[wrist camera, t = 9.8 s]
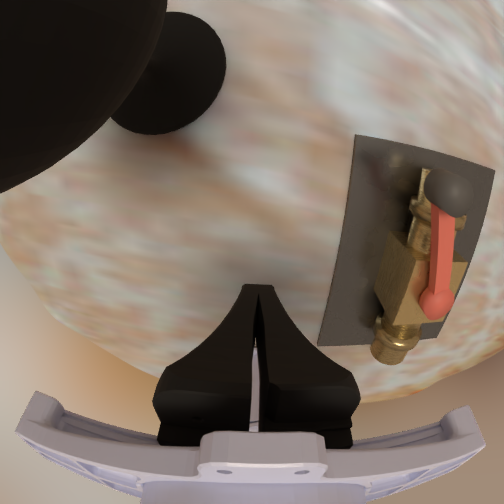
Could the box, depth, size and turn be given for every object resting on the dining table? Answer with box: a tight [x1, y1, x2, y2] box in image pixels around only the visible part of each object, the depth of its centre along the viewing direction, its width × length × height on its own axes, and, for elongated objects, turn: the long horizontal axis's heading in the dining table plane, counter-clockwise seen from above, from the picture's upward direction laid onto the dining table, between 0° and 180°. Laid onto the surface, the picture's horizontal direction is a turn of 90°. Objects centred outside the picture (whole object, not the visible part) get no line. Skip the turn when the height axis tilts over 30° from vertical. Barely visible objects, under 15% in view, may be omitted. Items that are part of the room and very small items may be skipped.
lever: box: [419, 168, 474, 320], centre depth 15 cm, size 12×3×2 cm, turn 16°
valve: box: [317, 134, 495, 365], centre depth 21 cm, size 21×16×6 cm
